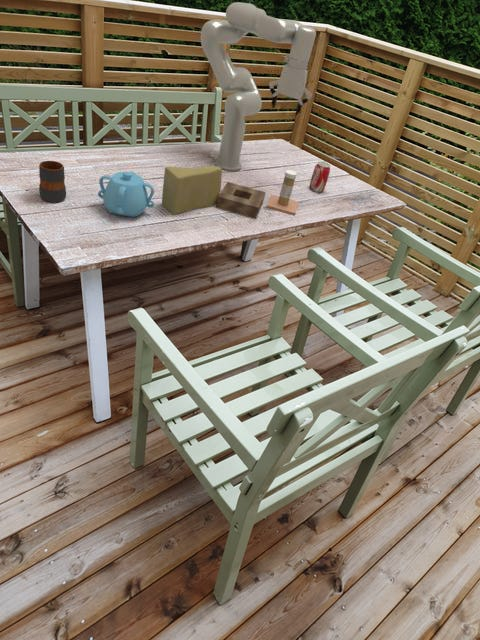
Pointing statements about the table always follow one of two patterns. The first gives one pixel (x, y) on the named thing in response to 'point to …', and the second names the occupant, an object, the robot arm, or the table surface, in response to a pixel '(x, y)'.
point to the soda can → (320, 177)
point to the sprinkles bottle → (287, 187)
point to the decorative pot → (126, 194)
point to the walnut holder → (240, 199)
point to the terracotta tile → (288, 208)
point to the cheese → (190, 188)
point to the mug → (52, 181)
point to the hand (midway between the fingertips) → (284, 110)
